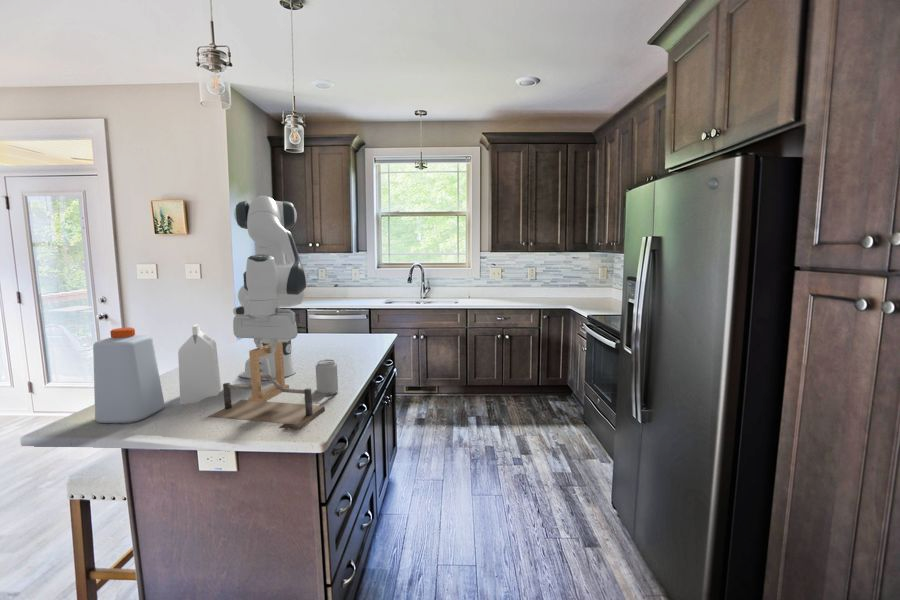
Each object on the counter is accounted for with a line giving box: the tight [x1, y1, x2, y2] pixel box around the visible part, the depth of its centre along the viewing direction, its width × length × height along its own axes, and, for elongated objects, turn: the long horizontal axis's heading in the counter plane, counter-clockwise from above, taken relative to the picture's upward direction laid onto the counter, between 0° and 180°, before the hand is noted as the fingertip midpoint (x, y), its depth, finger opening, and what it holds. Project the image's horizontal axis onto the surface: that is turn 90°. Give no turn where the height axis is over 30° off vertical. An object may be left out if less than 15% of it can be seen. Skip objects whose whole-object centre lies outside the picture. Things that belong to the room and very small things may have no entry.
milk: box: [177, 323, 223, 405], centre depth 152 cm, size 12×12×26 cm
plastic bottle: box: [92, 327, 165, 424], centre depth 135 cm, size 15×15×28 cm
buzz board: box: [207, 375, 326, 430], centre depth 134 cm, size 31×15×13 cm, turn 77°
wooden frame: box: [247, 341, 290, 403], centre depth 133 cm, size 5×13×16 cm, turn 167°
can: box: [315, 358, 339, 397], centre depth 154 cm, size 8×8×12 cm
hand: (266, 352), depth 132 cm, fingers closed on wooden frame
